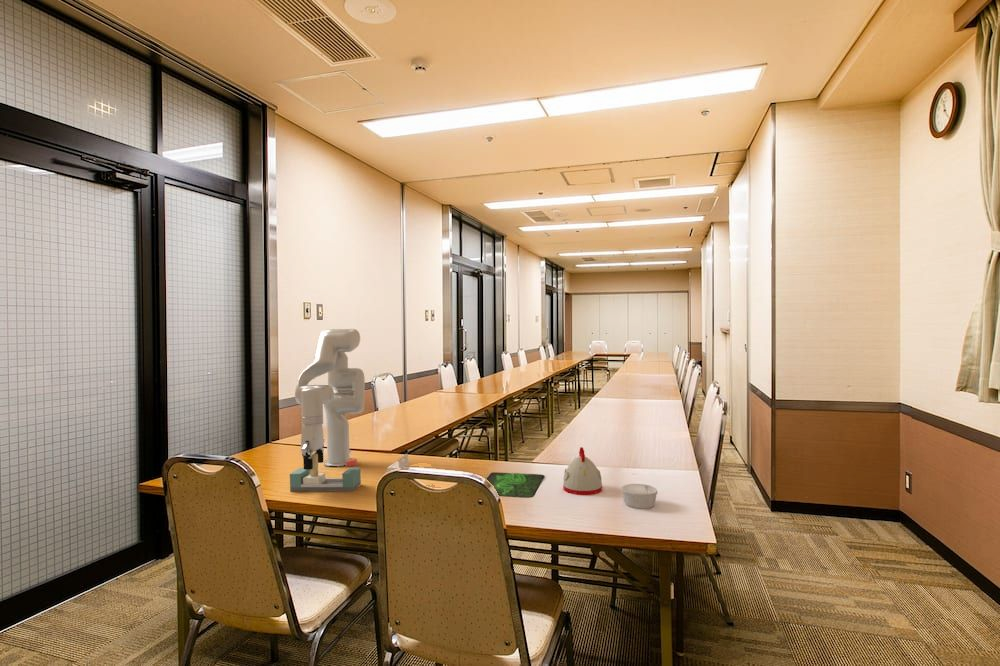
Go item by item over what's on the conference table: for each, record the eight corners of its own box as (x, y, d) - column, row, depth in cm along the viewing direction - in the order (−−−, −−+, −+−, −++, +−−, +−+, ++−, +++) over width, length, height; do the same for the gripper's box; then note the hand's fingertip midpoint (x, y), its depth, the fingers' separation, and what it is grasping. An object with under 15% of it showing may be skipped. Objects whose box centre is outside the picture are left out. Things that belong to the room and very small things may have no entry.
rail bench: (300, 484, 197) (299, 467, 197) (360, 484, 195) (360, 467, 195) (290, 491, 189) (289, 473, 189) (353, 491, 187) (352, 473, 187)
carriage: (310, 481, 195) (309, 452, 195) (325, 480, 195) (324, 452, 195) (303, 485, 189) (302, 456, 189) (318, 485, 189) (317, 456, 189)
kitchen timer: (565, 496, 176) (564, 452, 176) (561, 483, 190) (560, 443, 190) (605, 495, 176) (604, 452, 176) (598, 483, 190) (597, 443, 190)
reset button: (348, 464, 193) (347, 459, 193) (358, 464, 193) (358, 459, 193) (344, 467, 189) (344, 461, 189) (354, 467, 189) (354, 461, 189)
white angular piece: (397, 493, 183) (396, 452, 183) (410, 493, 182) (409, 453, 182) (387, 501, 175) (386, 458, 175) (400, 502, 174) (399, 459, 174)
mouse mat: (533, 499, 175) (533, 496, 175) (471, 495, 180) (471, 492, 180) (545, 476, 201) (545, 473, 201) (491, 474, 206) (491, 471, 206)
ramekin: (665, 507, 163) (664, 490, 163) (636, 513, 159) (636, 496, 159) (642, 497, 173) (641, 481, 173) (615, 502, 169) (614, 486, 169)
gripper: (313, 416, 201) (314, 460, 201) (292, 424, 184) (293, 472, 184) (331, 416, 200) (332, 459, 200) (312, 424, 183) (313, 472, 183)
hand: (313, 465), depth 192 cm, fingers open, 9 cm apart
